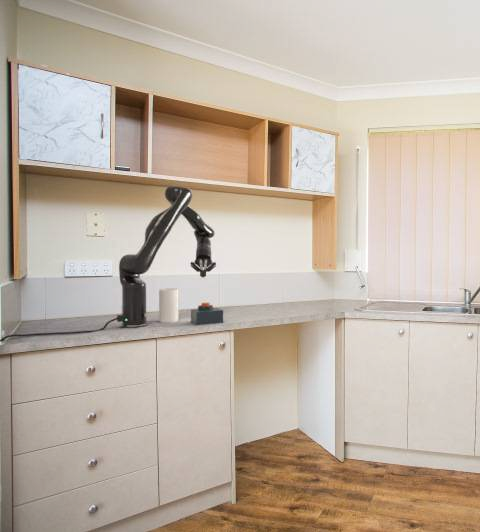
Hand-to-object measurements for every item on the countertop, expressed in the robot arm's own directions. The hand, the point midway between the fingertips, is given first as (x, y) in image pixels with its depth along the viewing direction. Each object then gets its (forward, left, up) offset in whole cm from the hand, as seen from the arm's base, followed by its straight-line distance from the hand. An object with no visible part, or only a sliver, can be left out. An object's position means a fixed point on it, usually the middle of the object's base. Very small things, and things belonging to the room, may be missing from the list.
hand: (203, 276), depth 206 cm
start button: (-2, -13, -14) cm, 20 cm away
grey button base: (-2, -16, -22) cm, 27 cm away
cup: (-16, -1, -22) cm, 27 cm away
